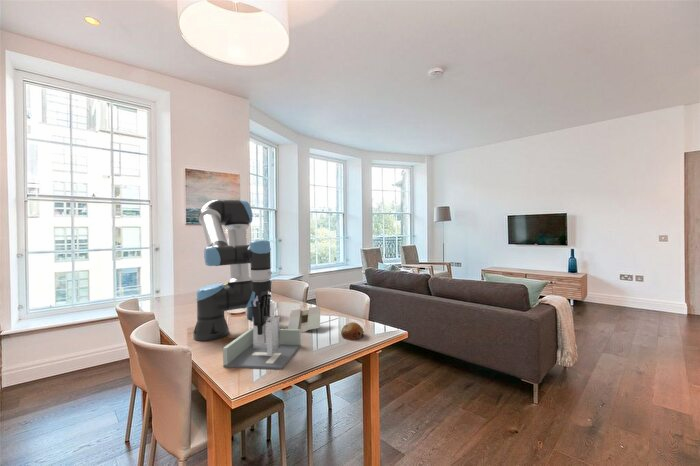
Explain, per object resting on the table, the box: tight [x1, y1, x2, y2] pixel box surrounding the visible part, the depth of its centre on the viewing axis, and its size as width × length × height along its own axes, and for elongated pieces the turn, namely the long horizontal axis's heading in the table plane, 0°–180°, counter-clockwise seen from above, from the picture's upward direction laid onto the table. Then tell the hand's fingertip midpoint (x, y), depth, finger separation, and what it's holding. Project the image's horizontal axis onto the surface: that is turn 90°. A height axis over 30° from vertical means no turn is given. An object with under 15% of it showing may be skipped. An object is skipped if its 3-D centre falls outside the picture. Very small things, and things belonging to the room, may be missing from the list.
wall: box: [287, 305, 321, 333], centre depth 152 cm, size 16×9×15 cm
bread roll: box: [340, 321, 365, 341], centre depth 138 cm, size 10×10×8 cm
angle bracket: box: [252, 315, 281, 355], centre depth 115 cm, size 10×8×12 cm
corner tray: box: [222, 327, 302, 370], centre depth 119 cm, size 22×22×7 cm
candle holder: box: [270, 299, 275, 316], centre depth 155 cm, size 10×10×12 cm
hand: (262, 341), depth 118 cm, fingers closed on angle bracket, 2 cm apart
